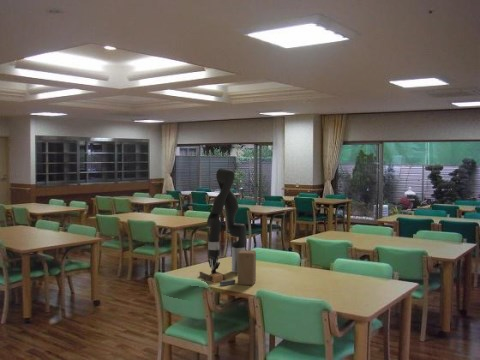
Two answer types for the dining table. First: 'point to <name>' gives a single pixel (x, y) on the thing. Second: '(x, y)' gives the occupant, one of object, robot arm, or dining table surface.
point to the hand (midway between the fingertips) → (213, 274)
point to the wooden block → (246, 267)
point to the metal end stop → (227, 282)
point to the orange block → (217, 277)
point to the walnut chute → (208, 276)
